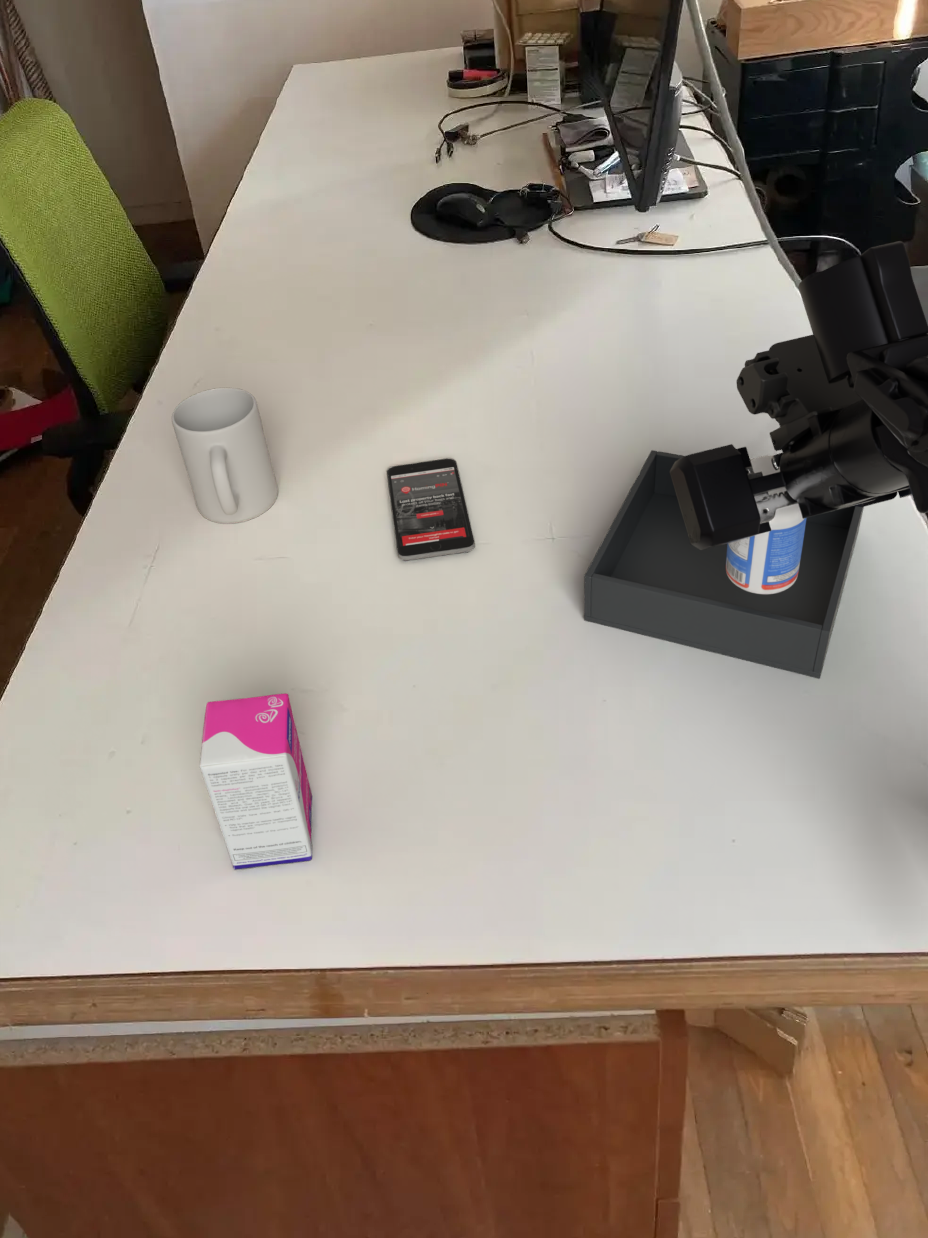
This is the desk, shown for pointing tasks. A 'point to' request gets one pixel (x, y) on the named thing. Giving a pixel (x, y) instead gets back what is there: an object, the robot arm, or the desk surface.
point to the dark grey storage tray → (715, 582)
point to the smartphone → (429, 510)
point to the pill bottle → (768, 547)
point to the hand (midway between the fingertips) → (760, 495)
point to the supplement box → (257, 780)
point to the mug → (225, 454)
